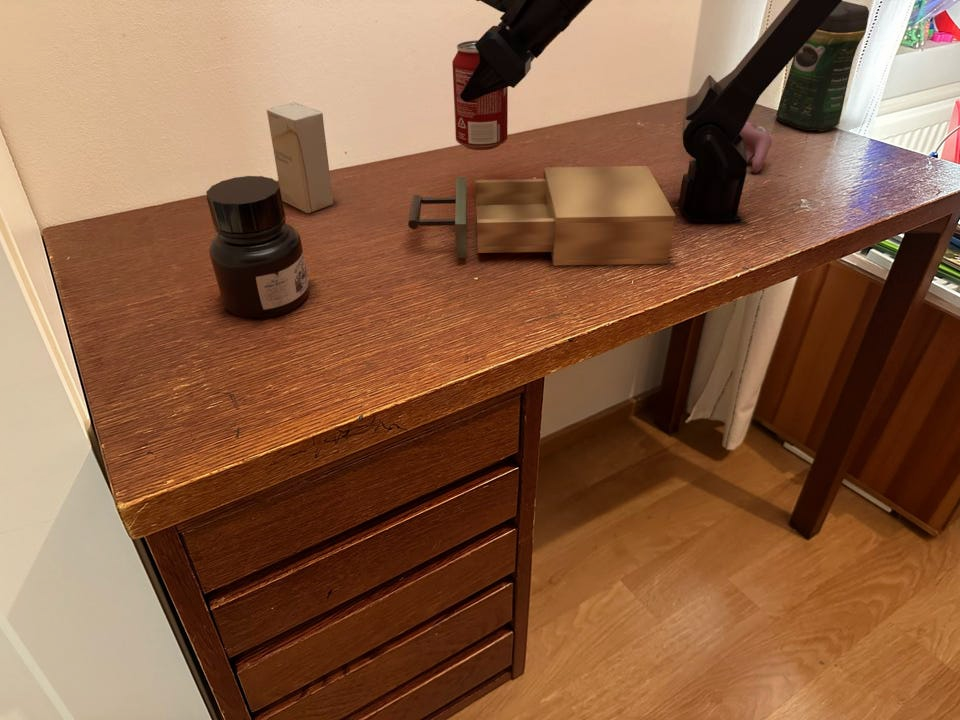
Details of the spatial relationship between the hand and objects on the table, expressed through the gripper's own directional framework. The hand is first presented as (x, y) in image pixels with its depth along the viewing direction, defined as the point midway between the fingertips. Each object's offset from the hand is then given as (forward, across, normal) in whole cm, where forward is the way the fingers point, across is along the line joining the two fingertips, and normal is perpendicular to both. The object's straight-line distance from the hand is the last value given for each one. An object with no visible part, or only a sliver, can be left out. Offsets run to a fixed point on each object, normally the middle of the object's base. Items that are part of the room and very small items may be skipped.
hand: (470, 91), depth 87 cm
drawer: (+5, +13, +12) cm, 19 cm away
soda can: (+4, 0, +6) cm, 7 cm away
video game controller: (-15, -18, +34) cm, 42 cm away
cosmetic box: (+24, +9, -5) cm, 26 cm away
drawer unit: (-4, +10, +22) cm, 25 cm away
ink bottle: (+19, +32, -1) cm, 37 cm away
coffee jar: (-24, -40, +44) cm, 63 cm away
